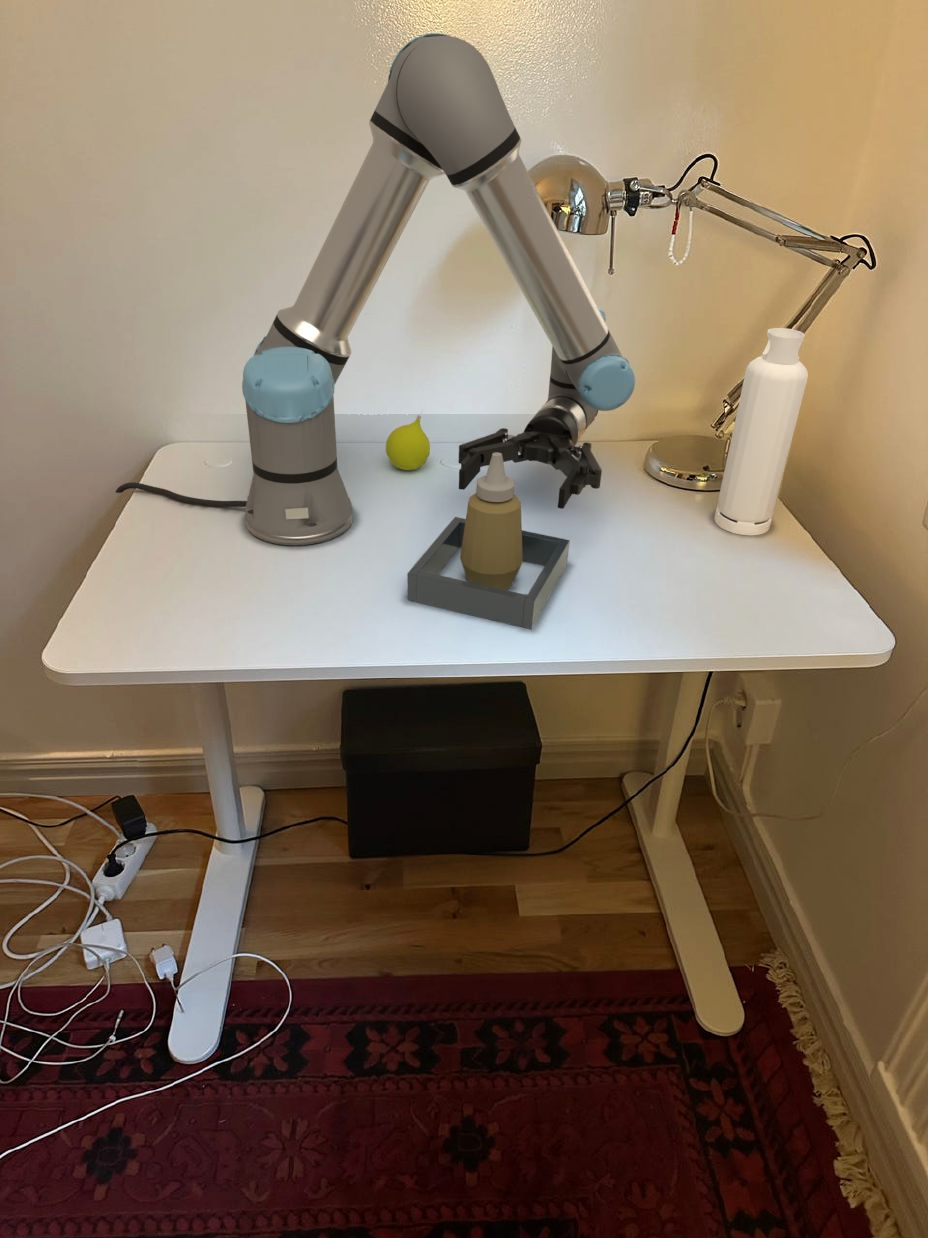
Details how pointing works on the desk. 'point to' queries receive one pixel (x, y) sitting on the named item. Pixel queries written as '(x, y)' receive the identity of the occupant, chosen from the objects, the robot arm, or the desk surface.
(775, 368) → the bottle
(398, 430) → the yellow teardrop-shaped fruit
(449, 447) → the desk surface
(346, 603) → the desk surface
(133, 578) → the desk surface
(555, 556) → the grey open square frame
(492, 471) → the squeeze bottle
